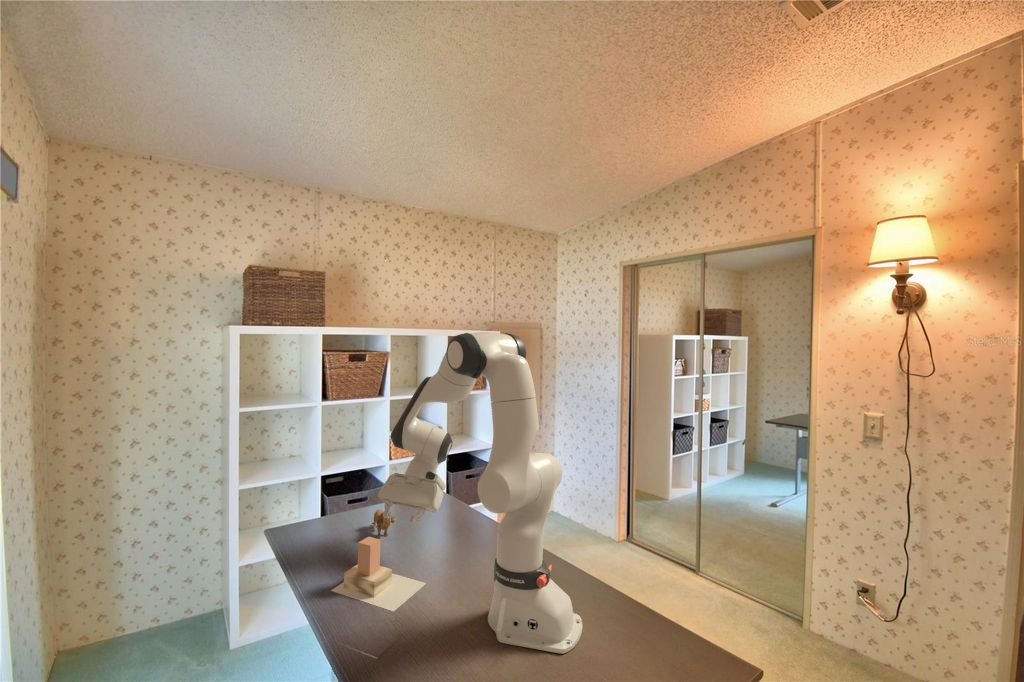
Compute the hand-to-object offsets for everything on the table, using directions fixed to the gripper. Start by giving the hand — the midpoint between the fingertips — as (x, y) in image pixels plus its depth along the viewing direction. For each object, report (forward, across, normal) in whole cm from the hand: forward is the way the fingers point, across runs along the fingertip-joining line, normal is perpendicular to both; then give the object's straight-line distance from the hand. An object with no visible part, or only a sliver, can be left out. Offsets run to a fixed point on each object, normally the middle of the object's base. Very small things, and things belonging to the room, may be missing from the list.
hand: (398, 520), depth 133 cm
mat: (+18, +3, +1) cm, 18 cm away
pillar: (+15, 0, -2) cm, 15 cm away
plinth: (+18, 0, 0) cm, 18 cm away
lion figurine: (-1, -18, +20) cm, 27 cm away
